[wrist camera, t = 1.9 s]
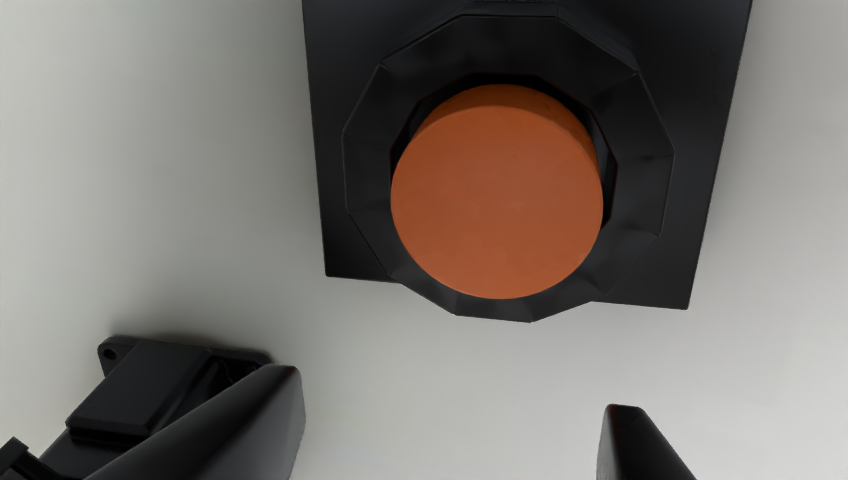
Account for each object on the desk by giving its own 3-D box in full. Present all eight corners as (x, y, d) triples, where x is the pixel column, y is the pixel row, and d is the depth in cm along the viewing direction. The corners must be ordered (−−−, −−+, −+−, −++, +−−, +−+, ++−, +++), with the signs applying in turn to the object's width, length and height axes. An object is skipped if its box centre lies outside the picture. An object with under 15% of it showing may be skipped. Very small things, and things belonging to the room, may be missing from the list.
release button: (610, 87, 14) (616, 110, 12) (588, 269, 16) (590, 309, 14) (404, 78, 15) (385, 100, 13) (408, 254, 17) (392, 290, 15)
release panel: (738, -21, 15) (781, 1, 12) (678, 278, 19) (700, 353, 16) (321, -26, 17) (268, -9, 14) (341, 250, 21) (303, 311, 18)
